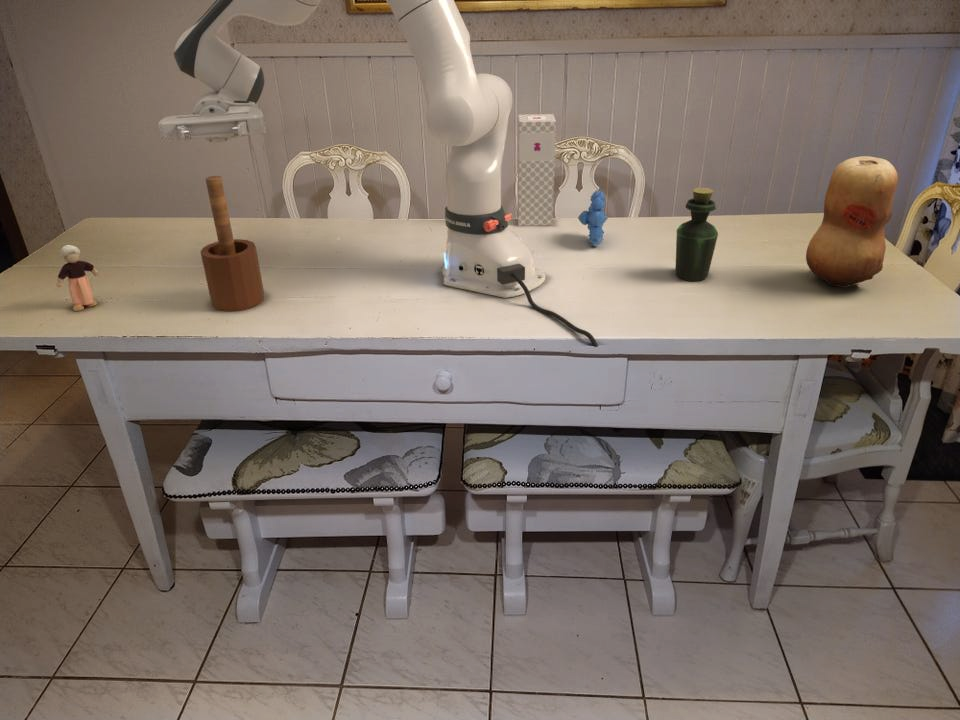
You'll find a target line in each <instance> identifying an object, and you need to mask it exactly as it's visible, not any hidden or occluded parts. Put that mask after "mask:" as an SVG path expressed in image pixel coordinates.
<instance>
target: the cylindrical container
mask: <svg viewBox="0 0 960 720" xmlns="http://www.w3.org/2000/svg"><path fill="white" fill-rule="evenodd" d="M233 239H234V238H233ZM234 245H235V250H236V254H231V255H221V253H220V248H219V243H218V241H215V242H212V243H209V244H206V245H205V246H203V247H202V248H201V250H200V257H201V262H202V265H203V266H202V267H203V270H204V274H205V275H204V276H205V279H206V284H207V289H208V294H209V297H210V302H211V305H212V307H213V308H214V309H215V310H218V311H221V312H240V311H244V310H245V311H246V310H248V309H252V308H254V307H256V306H259V305H260V304H262V303H263V302H264V300H265V291H264V286H263V279H262V274H261V273H262V272H261V269H260V268H261V267H260V263H259V256H258V251H257V246H256V244H255V242H253V241H251V240H248V239H241V238H237V239H234Z"/></svg>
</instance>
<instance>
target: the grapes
mask: <svg viewBox="0 0 960 720" xmlns="http://www.w3.org/2000/svg"><path fill="white" fill-rule="evenodd" d="M605 201H606V195H605V194H604V193H603V191H601V190H600V189H597V190H595V191H593V193H592V194H591V196H590V202H591V203H590V205H589V207H588V209H587V210H583V211H582V212H581V213H580V214H579V215H578V217H577V219H578V220H579V222H580V223H581V224H582V225H583V226H587V229H588V231H589V232H588V233H589V234H588V240H589V242H590V244H591V245H593V246H594V247H597V246H599V245H600V244H601V243H602V242H603V241H604V238H603V237H604V233H605V231H604V230H603V226H604V224H605V223H606V221H607V220H608V216H607V214H605V210H604V208H605V207H606V203H605Z"/></svg>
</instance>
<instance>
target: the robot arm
mask: <svg viewBox="0 0 960 720" xmlns="http://www.w3.org/2000/svg"><path fill="white" fill-rule="evenodd" d="M385 1H386V3H387V5H388V6H389V9H390V10H391V13H392V14H393V16H394V18H395V21H396V22H397V25H398V27H399V29H400V31H401V33H402V35H403V37H404V40H405V42H406V43H407V45H408V47H409V50H410V52H411V54H412V56H413V58H414V60H415V63H416V65H417V69H418V71H419V75H420V78H421V83H422V87H423V90H424V95H425V100H426V105H427V106H426V114H425V117H426V118H425V119H426V125H427V128H428V130H429V132H430V134H431V135H432V137H433V138H434V139H435V140H436V141H437V142H439V143H440V144H442V145H445V146H449V147H451V149H450V150H451V151H450V155H449V158H448V161H447V163H446V168H445V185H446V186H445V189H446V206H445V208H444V219H445V221H444V222H445V227H446V229H447V231H446V232H447V233H446V246H445V252H443V258H444V260H443V261H444V263H443V266H442V270H441V274H442V276H443V285H444V286H446V287H447V286H448V287H450V288H451V287H452V288H455V289H461V290H465V291H466V290H467V291H471V292H475V293H481V294H484V295H490V296H494V297H498V298H506V299H508V298H514V297H518V296H521V295H524V294H525V297H526V299H527V301H528V303H529V305H530V306H531V307H532V308H533V309H534V310H535V311H537V312H539V313H542V314H545V315H548V316H551V317H553V318H555V319H556V320H558V321H560V322H561V323H562V324H564V325H565V326H566V327H567V328H569V329H570V330H572V331H574V332H575V333H578V334H580V335H583V336H585V337H586V338H588V340H589V341H590V343H591V345H592V347H594V348H598V347H599V346H598V343H597V340H596V339H595V337H594V336H593V334H592V333H590V332H589V331H587V330H585V329H581V328H580V327H577V326H575V325H574V324H573V323H571V322H570V321H569V320H568V319H566V318H564V317H563V316H561V315H560V314H558V313H556V312H555V311H552V310H549V309H545V308H542V307H540V306H538V304H537V303H536V302H535V301H534V299H533V298H532V296H531V291H533V290H535V289H537V288H538V287H540V286H541V285H542V284H543V283H544V282H545V281H546V277H547V276H546V273H545V272H544V271H543V270H540V269H538V268H536V266H535V258H534V254H533V251H532V249H531V248H530V247H529V246H528V245H527V244H526V243H525V242H524V241H523V238H520V237H519V236H518V235H517V234H516V232H514V230H513V229H512V228H510V226H509V222H508V221H510V220H511V219H513V218H512V217H511V216H512V215H513V213H512V212H511V213H508V214H506V212H505V209H504V207H503V205H502V166H503V158H504V152H505V146H506V140H507V133H508V123H509V117H510V113H511V110H512V109H513V103H514V101H513V99H514V97H513V93H512V90H511V87H510V86H509V84H508V83H507V82H506V81H505V79H503V78H502V77H500V76H498V75H495V74H491V73H482V72H481V73H477V72H476V68H475V65H474V60H473V56H472V51H471V35H470V31H469V30H468V28H467V26H466V24H465V21H464V19H463V17H462V15H461V13H460V11H459V8H458V6H457V3H456V2H455V0H385ZM321 2H322V0H215V1H214V3H212V4H211V6H210V7H209V8H208V9H207V10H206V11H205V12H204V13H203V15H202V16H201V17H200V18H199V19H198V20H197V21H196V22H195V23H194V24H193V25H192V26H190V27H189V28H188V29H187V30H185V31H184V32H183V33H182V34H181V35H180V36H179V38H178V39H177V41H176V44H175V45H174V50H173V57H174V60H175V63H176V64H177V67H178V68H179V70H180V72H181V73H184V74H186V75H187V76H190V77H192V78H193V79H196V80H197V81H199V82H201V83H202V84H204V85H205V86H206V87H209V88H210V89H209V90H207V91H206V90H205V92H203V93H202V94H201V95H200V96H199V97H198V99H197V100H196V102H195V106H194V108H193V111H192V113H191V114H180V115H179V114H178V115H170V116H169V115H168V116H165V117H163V118H162V119H160V120H159V121H158V123H157V126H158V132H159V136H160V139H161V140H162V141H165V142H171V141H172V142H173V141H190V140H199V139H202V140H204V141H207V142H209V143H214V144H220V143H225V142H227V141H229V140H233V139H236V138H240V137H245V136H255V135H265V134H266V133H267V128H266V122H265V116H264V113H263V112H262V110H261V108H259V107H257V103H258V101H259V99H260V97H261V95H262V92H263V90H264V86H265V73H264V71H263V68H262V66H261V65H259V64H258V63H256V62H254V60H252V59H250V58H249V57H248V56H246V55H245V54H243V53H241V52H239V50H237V49H235V48H233V46H231V45H229V44H228V43H226V42H225V41H224V40H222V39H220V38H219V36H218V34H219V33H220V32H221V30H222V29H223V28H224V27H225V26H226V25H227V24H228V23H229V22H230V21H231V20H232V19H233V18H235V17H237V16H244V17H250V18H255V19H259V20H261V21H265V22H267V23H270V24H273V25H276V26H282V27H283V26H284V27H293V26H297V25H298V26H299V25H300V24H303V23H304V22H306V21H307V20H308V19H309V18H310V17H311V16H312V15H313V13H314V12H315V11H316V10H317V8H318V6H319V5H320V4H321Z"/></svg>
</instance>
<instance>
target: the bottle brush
mask: <svg viewBox="0 0 960 720" xmlns="http://www.w3.org/2000/svg"><path fill="white" fill-rule="evenodd" d="M205 184H206V190H207V194H208V199H209V203H210V209H211V213H212V218H213V222H214V227H215V232H216V237H217V242H218V243H219V248H220V253H221V255H231V254H236V250H235V245H234V235H233V230H232V225H231V224H232V223H231V220H230V214H229V209H228V203H227V200H226V193H225V188H224V183H223V177H222V176H220V175H211V176H207V177H205Z"/></svg>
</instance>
